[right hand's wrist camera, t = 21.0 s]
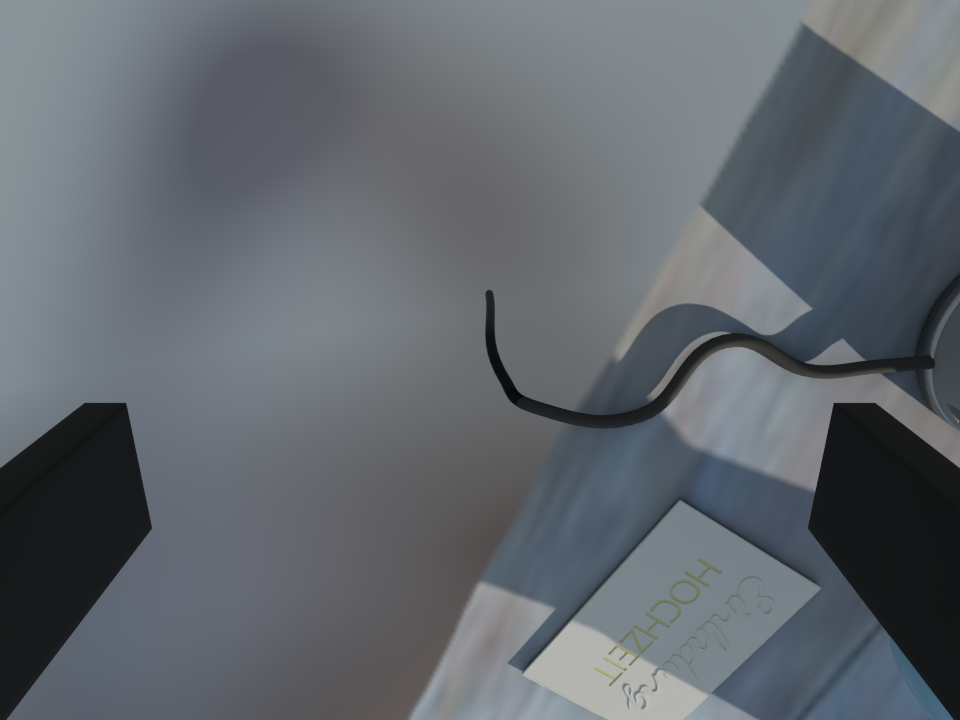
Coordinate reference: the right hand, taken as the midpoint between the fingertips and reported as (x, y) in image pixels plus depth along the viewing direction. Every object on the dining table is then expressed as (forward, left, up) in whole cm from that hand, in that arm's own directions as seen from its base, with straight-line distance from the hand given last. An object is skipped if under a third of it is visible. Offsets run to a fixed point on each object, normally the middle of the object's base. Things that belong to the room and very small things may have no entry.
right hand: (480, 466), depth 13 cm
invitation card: (+14, -36, -34) cm, 52 cm away
